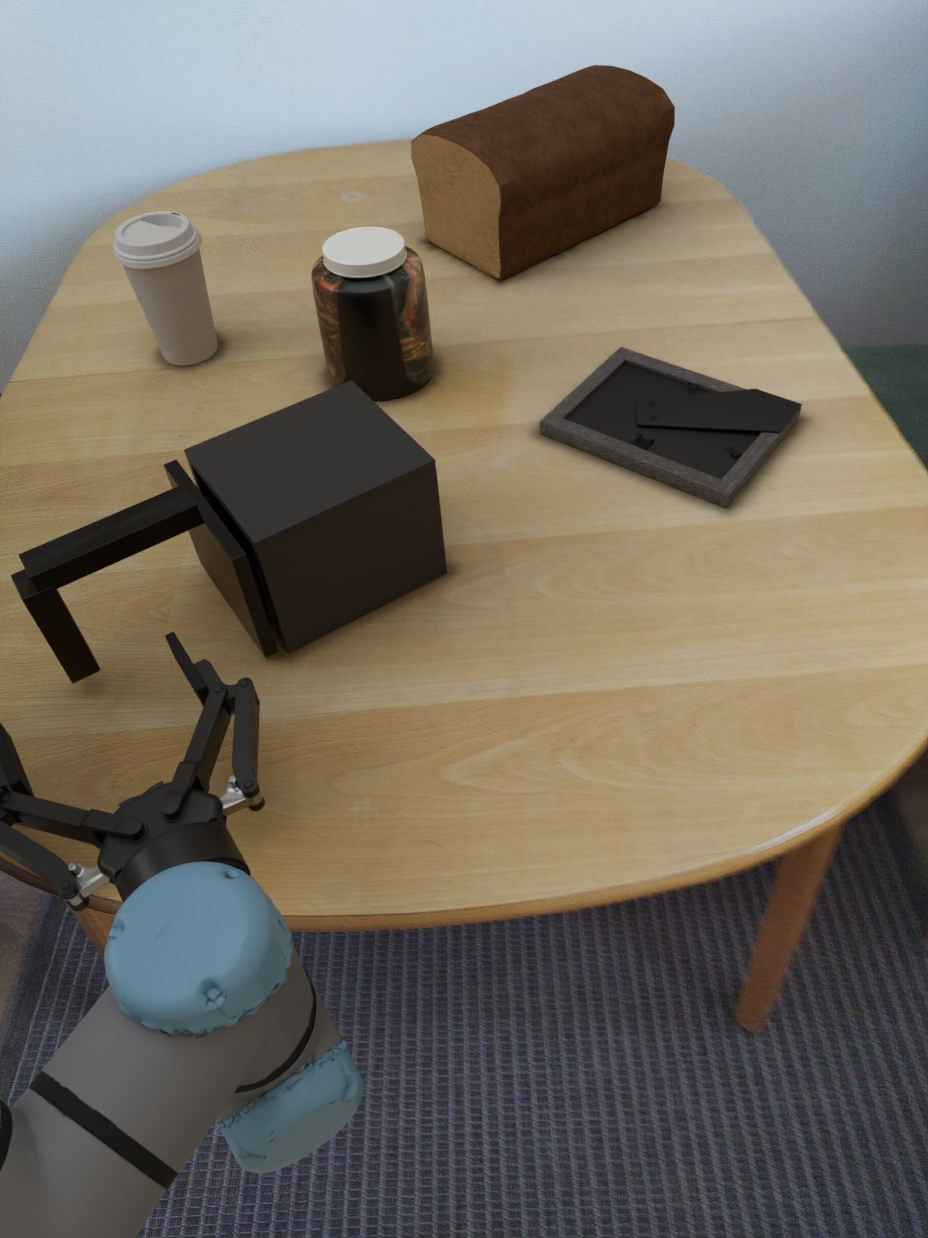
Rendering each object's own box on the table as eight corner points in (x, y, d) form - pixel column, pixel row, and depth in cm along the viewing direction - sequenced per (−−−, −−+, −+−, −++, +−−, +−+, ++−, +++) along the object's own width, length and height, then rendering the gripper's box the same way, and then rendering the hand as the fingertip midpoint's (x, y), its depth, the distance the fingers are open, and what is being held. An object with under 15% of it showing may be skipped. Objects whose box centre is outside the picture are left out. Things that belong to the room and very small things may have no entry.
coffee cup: (244, 353, 111) (211, 229, 100) (168, 383, 108) (125, 259, 97) (211, 319, 117) (176, 198, 106) (138, 347, 114) (94, 225, 102)
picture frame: (798, 420, 97) (619, 358, 106) (802, 403, 95) (621, 343, 104) (726, 508, 89) (539, 433, 98) (729, 491, 87) (539, 417, 96)
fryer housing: (288, 654, 80) (254, 543, 70) (222, 560, 88) (183, 449, 78) (447, 573, 85) (435, 459, 75) (371, 491, 93) (351, 379, 84)
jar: (351, 414, 102) (328, 285, 91) (315, 361, 109) (290, 236, 98) (450, 382, 105) (439, 253, 94) (409, 332, 112) (394, 207, 101)
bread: (669, 206, 129) (682, 78, 117) (505, 288, 118) (500, 154, 106) (576, 168, 139) (580, 46, 127) (416, 239, 127) (403, 112, 115)
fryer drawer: (102, 741, 74) (34, 632, 64) (49, 633, 82) (-18, 520, 72) (426, 576, 84) (411, 459, 74) (351, 494, 92) (328, 378, 82)
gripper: (22, 1046, 57) (-57, 796, 69) (380, 833, 65) (252, 642, 77) (-34, 1002, 51) (-110, 738, 64) (364, 774, 59) (229, 579, 72)
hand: (88, 685), depth 71 cm, fingers open, 13 cm apart
